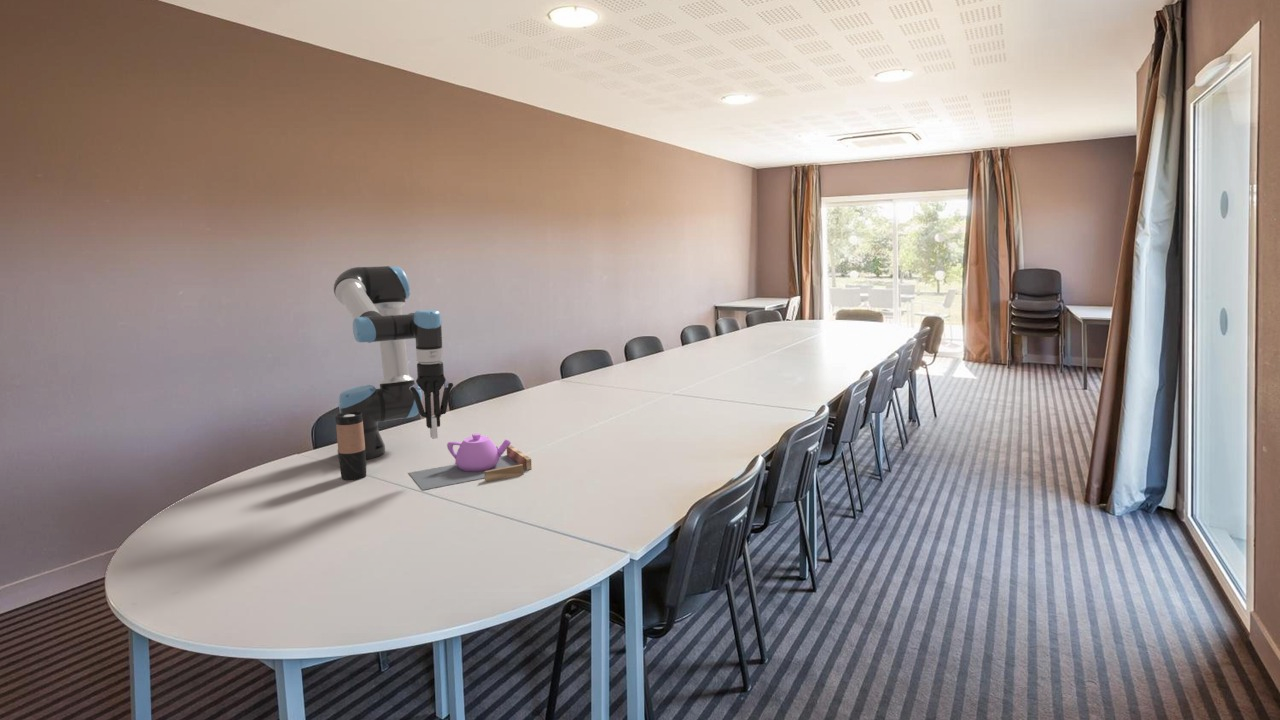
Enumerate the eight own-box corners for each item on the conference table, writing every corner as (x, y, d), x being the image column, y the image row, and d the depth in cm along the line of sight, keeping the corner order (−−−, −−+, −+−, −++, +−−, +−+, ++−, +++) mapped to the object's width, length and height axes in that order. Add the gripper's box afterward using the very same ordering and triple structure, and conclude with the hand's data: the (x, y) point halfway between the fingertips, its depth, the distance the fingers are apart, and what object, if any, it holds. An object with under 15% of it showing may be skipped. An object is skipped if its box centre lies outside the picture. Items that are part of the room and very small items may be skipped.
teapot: (512, 470, 204) (510, 437, 203) (446, 475, 200) (444, 442, 198) (511, 457, 218) (510, 426, 216) (450, 461, 213) (448, 430, 212)
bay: (462, 460, 215) (461, 450, 214) (507, 452, 223) (507, 442, 223) (486, 481, 194) (485, 470, 194) (535, 472, 203) (535, 461, 202)
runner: (408, 473, 203) (408, 472, 203) (511, 454, 221) (511, 454, 220) (422, 490, 188) (422, 489, 188) (531, 469, 205) (531, 468, 205)
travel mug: (357, 481, 196) (352, 417, 192) (335, 480, 197) (329, 416, 194) (372, 473, 203) (367, 411, 200) (350, 472, 204) (345, 410, 201)
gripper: (410, 366, 186) (415, 444, 191) (455, 361, 193) (458, 437, 198) (404, 361, 193) (409, 437, 197) (448, 357, 199) (451, 431, 204)
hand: (434, 437), depth 197 cm, fingers closed
